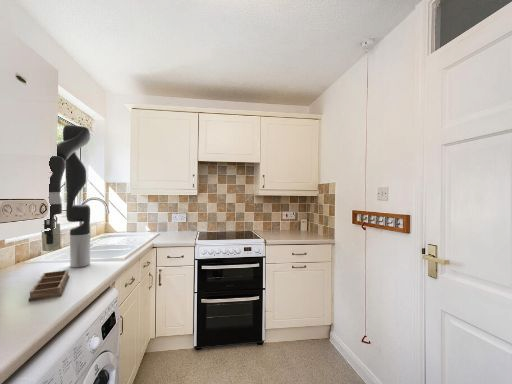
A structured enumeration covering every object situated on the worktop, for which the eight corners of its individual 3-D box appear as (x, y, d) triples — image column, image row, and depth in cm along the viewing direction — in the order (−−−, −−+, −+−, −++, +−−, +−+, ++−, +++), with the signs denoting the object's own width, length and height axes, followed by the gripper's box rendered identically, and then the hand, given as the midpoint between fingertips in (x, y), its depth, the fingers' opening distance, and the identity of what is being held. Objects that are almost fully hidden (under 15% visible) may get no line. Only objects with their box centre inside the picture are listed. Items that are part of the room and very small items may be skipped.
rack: (42, 280, 122) (42, 273, 122) (69, 277, 127) (69, 269, 127) (28, 301, 100) (28, 292, 100) (61, 296, 105) (61, 287, 105)
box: (54, 248, 117) (54, 222, 116) (61, 249, 115) (60, 223, 115) (41, 250, 112) (40, 224, 112) (47, 251, 110) (47, 224, 110)
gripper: (42, 202, 117) (43, 240, 118) (35, 204, 105) (36, 246, 105) (63, 202, 121) (64, 238, 121) (59, 203, 109) (59, 244, 109)
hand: (51, 242), depth 113 cm, fingers closed on box, 6 cm apart
